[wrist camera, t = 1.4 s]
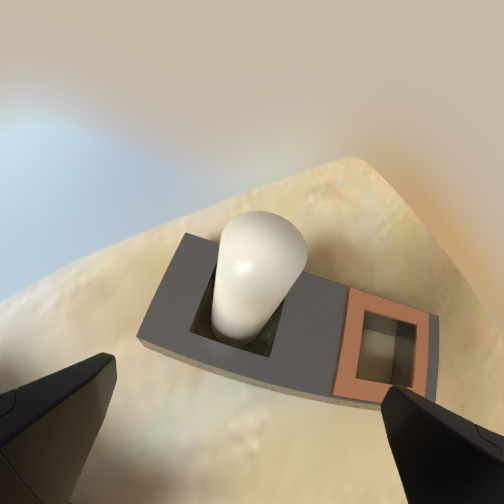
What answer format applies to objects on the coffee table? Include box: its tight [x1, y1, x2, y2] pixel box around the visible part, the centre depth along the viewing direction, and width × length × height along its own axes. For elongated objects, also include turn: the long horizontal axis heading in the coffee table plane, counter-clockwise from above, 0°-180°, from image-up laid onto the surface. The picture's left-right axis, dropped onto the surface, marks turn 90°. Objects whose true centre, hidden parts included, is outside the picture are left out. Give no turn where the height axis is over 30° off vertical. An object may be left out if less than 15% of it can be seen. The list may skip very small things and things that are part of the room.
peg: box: [211, 211, 307, 346], centre depth 17 cm, size 4×4×11 cm
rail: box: [136, 233, 439, 411], centre depth 20 cm, size 9×24×3 cm, turn 74°
